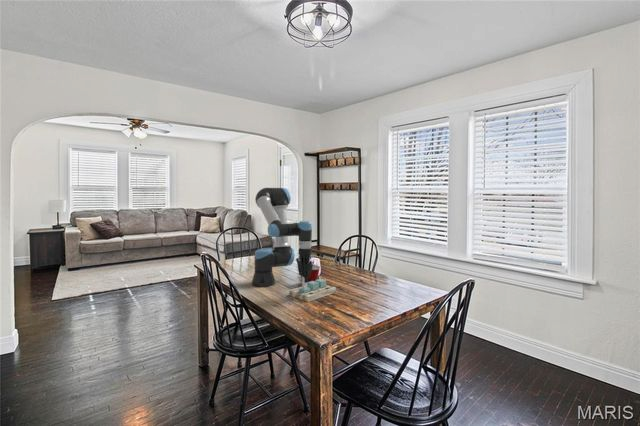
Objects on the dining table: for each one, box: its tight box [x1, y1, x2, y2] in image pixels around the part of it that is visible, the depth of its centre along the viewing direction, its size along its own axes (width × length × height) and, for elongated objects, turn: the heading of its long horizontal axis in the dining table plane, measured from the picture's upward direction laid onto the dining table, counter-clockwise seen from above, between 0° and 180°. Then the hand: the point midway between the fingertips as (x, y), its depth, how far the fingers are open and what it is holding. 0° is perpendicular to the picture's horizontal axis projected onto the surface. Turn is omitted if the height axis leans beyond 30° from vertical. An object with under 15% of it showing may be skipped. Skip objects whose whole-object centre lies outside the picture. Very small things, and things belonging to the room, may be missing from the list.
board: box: [288, 284, 337, 303], centre depth 192 cm, size 16×24×3 cm, turn 137°
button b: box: [307, 281, 319, 291], centre depth 192 cm, size 5×5×4 cm
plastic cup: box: [308, 264, 322, 282], centre depth 213 cm, size 11×11×12 cm
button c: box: [315, 278, 327, 288], centre depth 197 cm, size 5×5×4 cm
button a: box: [298, 286, 310, 294], centre depth 187 cm, size 5×5×4 cm
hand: (304, 287), depth 187 cm, fingers closed
